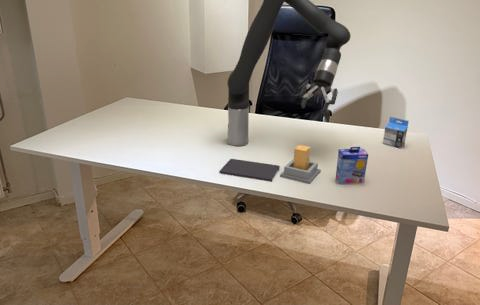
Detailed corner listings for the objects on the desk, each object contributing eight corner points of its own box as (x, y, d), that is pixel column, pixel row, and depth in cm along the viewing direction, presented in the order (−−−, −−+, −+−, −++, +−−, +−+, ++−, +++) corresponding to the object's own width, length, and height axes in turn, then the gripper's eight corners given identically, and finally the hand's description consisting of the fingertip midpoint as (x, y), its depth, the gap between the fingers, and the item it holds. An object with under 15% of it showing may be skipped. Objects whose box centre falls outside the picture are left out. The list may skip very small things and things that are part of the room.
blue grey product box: (382, 143, 183) (385, 118, 178) (385, 141, 185) (389, 116, 180) (401, 148, 177) (405, 122, 172) (404, 146, 180) (409, 120, 175)
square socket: (280, 176, 151) (280, 167, 150) (292, 165, 161) (292, 156, 159) (309, 184, 146) (310, 174, 144) (320, 171, 156) (321, 162, 154)
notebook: (219, 174, 154) (272, 183, 148) (219, 171, 154) (272, 179, 147) (230, 161, 165) (280, 169, 159) (230, 158, 165) (280, 165, 158)
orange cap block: (293, 172, 152) (294, 148, 149) (297, 168, 156) (299, 144, 152) (304, 175, 150) (305, 151, 146) (308, 170, 154) (310, 147, 150)
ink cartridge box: (338, 184, 146) (343, 148, 140) (334, 178, 151) (338, 142, 145) (365, 183, 146) (370, 147, 141) (359, 177, 151) (364, 141, 146)
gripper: (307, 66, 159) (294, 102, 156) (342, 72, 153) (329, 110, 150) (310, 74, 165) (297, 109, 163) (344, 81, 160) (331, 117, 157)
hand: (312, 110), depth 156 cm, fingers open, 8 cm apart
